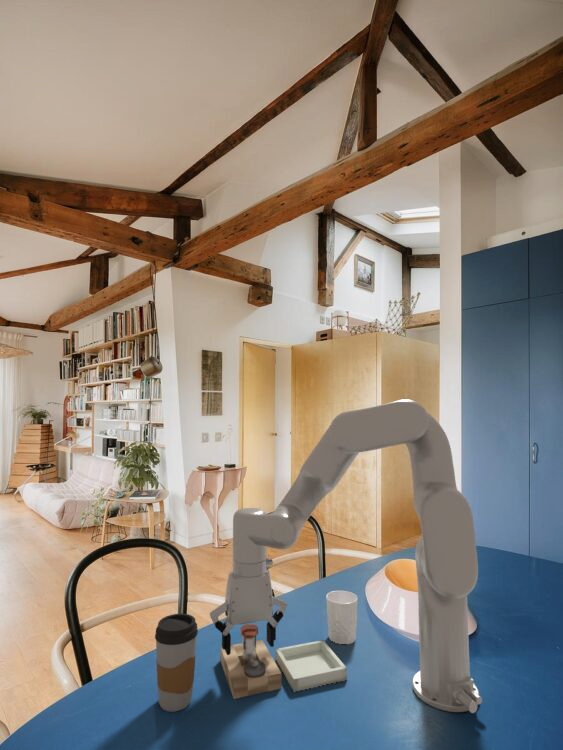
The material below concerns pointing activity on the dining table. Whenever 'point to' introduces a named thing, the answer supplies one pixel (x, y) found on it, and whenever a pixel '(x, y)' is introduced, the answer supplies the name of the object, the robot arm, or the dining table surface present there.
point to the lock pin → (248, 642)
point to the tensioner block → (250, 671)
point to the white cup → (342, 616)
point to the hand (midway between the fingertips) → (249, 647)
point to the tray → (310, 665)
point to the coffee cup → (175, 660)
